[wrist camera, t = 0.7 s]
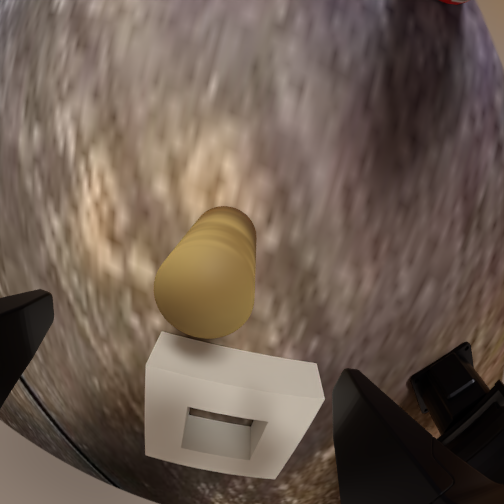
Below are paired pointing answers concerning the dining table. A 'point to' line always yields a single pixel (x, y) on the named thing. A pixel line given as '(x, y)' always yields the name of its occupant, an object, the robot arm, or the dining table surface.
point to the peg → (210, 275)
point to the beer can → (454, 1)
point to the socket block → (226, 406)
